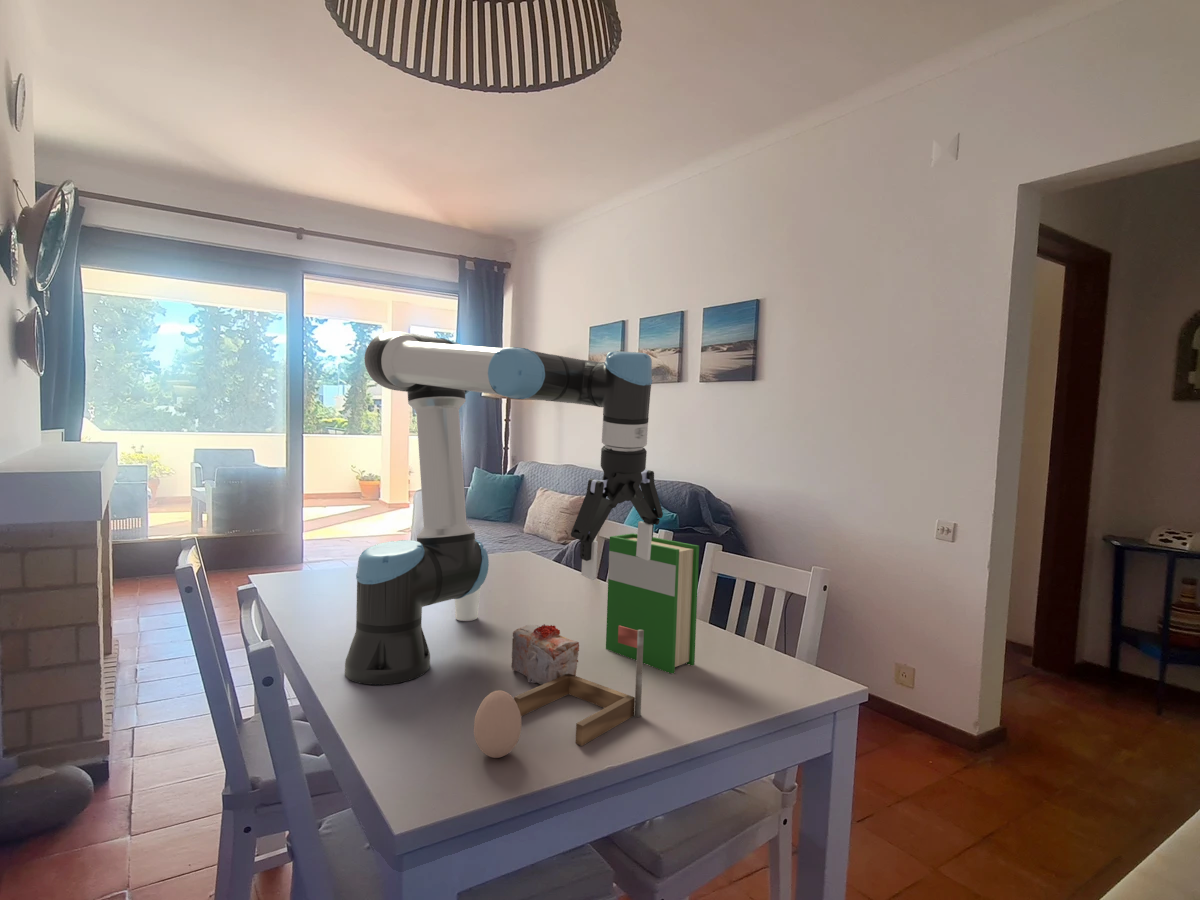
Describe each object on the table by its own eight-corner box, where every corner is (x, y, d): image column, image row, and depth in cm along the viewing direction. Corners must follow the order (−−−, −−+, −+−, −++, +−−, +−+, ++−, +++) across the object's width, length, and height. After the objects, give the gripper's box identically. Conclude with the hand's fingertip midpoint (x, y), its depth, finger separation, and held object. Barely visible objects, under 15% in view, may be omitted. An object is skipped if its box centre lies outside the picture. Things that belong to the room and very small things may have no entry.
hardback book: (694, 664, 124) (699, 545, 123) (671, 674, 118) (676, 549, 118) (629, 641, 136) (633, 533, 135) (605, 649, 131) (609, 536, 130)
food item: (584, 684, 112) (586, 630, 112) (551, 696, 107) (553, 640, 106) (536, 662, 122) (538, 613, 122) (503, 673, 116) (505, 621, 116)
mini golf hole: (513, 715, 99) (516, 628, 99) (571, 688, 110) (573, 610, 110) (586, 748, 90) (589, 653, 89) (641, 715, 101) (645, 630, 100)
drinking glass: (483, 621, 146) (485, 558, 146) (454, 624, 144) (456, 560, 143) (478, 613, 152) (479, 553, 152) (450, 615, 150) (451, 554, 150)
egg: (505, 772, 82) (507, 705, 82) (463, 761, 85) (465, 696, 85) (528, 749, 89) (530, 687, 88) (489, 739, 91) (491, 678, 91)
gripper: (585, 460, 91) (578, 594, 95) (688, 442, 108) (679, 556, 112) (551, 450, 96) (547, 578, 100) (655, 435, 113) (647, 544, 117)
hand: (617, 567), depth 106 cm, fingers open, 13 cm apart
